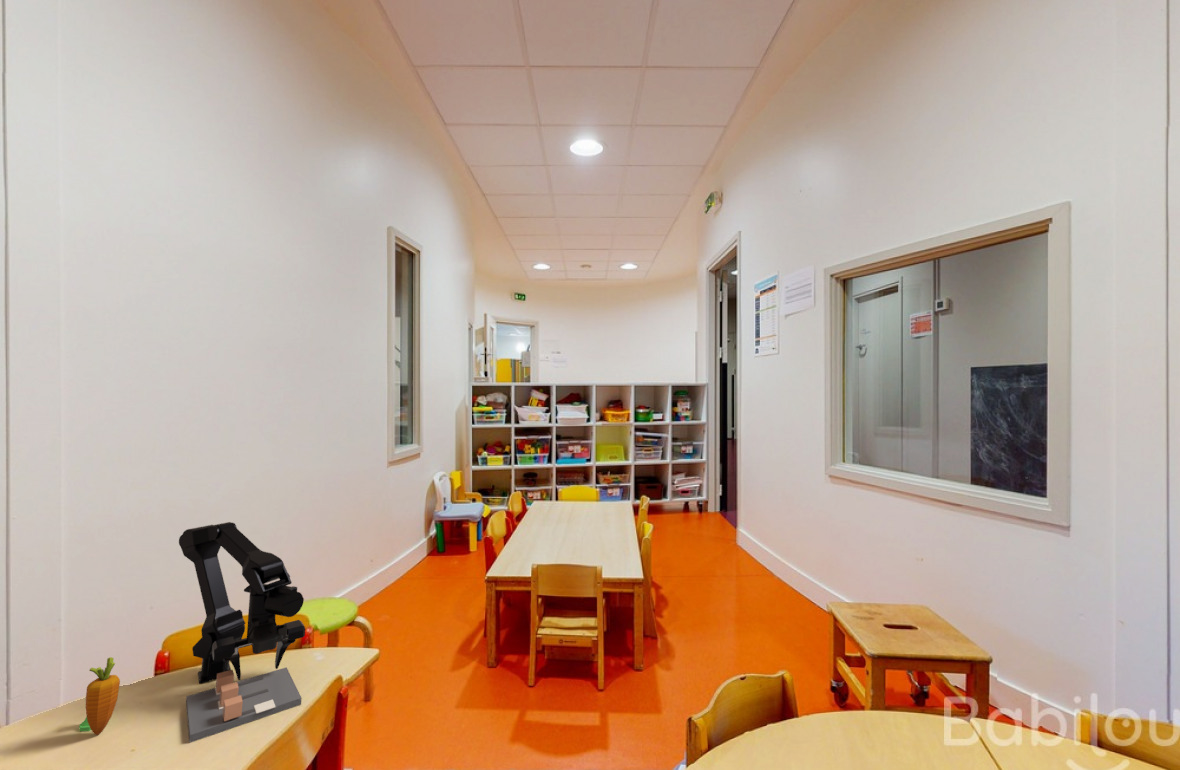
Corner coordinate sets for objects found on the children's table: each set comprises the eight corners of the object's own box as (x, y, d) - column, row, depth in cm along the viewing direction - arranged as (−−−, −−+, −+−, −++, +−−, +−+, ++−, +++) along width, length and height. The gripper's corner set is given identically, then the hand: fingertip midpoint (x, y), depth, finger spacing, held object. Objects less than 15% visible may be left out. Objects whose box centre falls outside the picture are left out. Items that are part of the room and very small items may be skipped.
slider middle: (219, 699, 106) (220, 686, 106) (235, 694, 108) (237, 681, 108) (220, 705, 104) (222, 692, 104) (237, 700, 106) (238, 687, 106)
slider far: (215, 686, 111) (217, 673, 111) (231, 682, 113) (232, 669, 113) (216, 692, 109) (218, 679, 109) (232, 687, 111) (234, 674, 111)
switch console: (185, 702, 108) (186, 695, 108) (286, 673, 121) (286, 666, 121) (189, 743, 95) (190, 735, 95) (301, 705, 108) (301, 697, 108)
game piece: (103, 727, 98) (106, 698, 99) (74, 734, 96) (78, 704, 97) (110, 716, 102) (114, 688, 103) (83, 722, 100) (86, 693, 100)
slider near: (222, 714, 101) (224, 700, 101) (239, 709, 103) (240, 695, 103) (224, 721, 99) (225, 706, 99) (241, 715, 101) (242, 701, 101)
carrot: (91, 744, 93) (100, 668, 95) (73, 740, 94) (82, 664, 96) (121, 729, 98) (129, 656, 99) (103, 725, 99) (111, 653, 100)
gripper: (218, 633, 104) (213, 704, 103) (311, 610, 117) (308, 673, 116) (214, 616, 112) (209, 682, 111) (301, 597, 125) (298, 656, 124)
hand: (258, 673), depth 116 cm, fingers open, 7 cm apart
